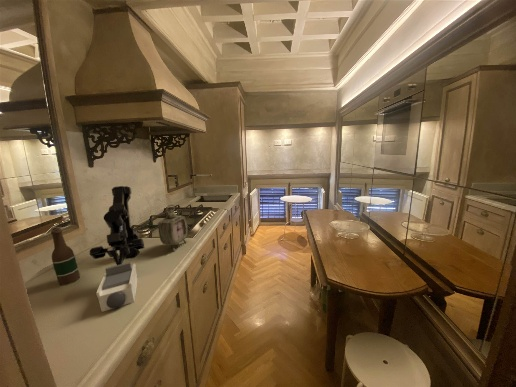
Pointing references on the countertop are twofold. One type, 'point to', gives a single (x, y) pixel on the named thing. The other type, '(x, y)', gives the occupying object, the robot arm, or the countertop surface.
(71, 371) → the countertop surface
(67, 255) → the beer bottle
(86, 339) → the countertop surface
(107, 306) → the white open box
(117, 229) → the robot arm
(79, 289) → the countertop surface
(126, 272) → the door
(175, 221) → the tabletop clock
